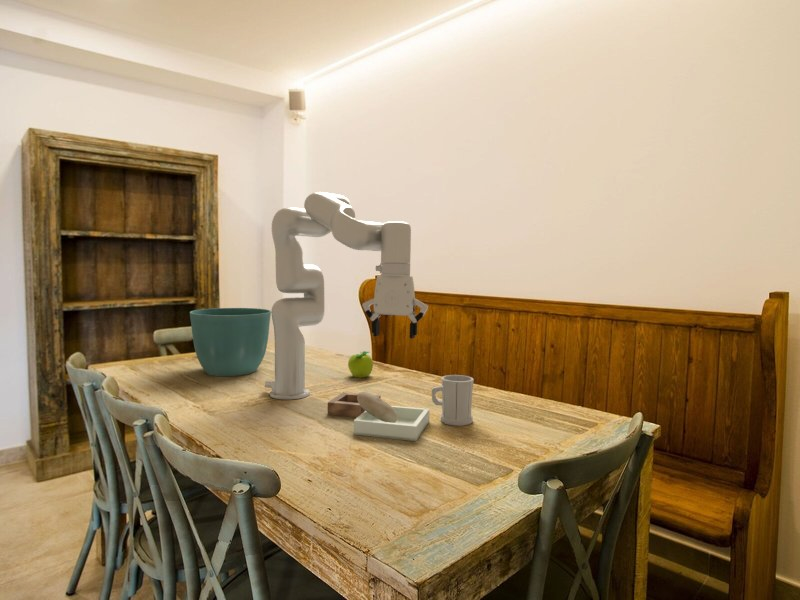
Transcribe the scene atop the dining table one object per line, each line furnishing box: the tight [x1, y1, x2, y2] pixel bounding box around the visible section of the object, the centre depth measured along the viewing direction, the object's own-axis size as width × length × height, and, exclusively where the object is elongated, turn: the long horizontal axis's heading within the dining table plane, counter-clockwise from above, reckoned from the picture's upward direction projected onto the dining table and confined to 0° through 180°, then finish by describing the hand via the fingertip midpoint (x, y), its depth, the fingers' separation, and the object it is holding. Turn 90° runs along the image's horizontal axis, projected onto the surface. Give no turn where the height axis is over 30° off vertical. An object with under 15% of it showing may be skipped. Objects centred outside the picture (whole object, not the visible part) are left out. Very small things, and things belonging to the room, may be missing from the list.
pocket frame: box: [327, 392, 382, 418], centre depth 146 cm, size 12×12×4 cm
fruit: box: [347, 350, 374, 379], centre depth 190 cm, size 9×9×10 cm
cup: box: [431, 374, 475, 427], centre depth 137 cm, size 10×9×12 cm
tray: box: [353, 405, 430, 442], centre depth 131 cm, size 16×16×4 cm
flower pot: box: [189, 307, 272, 377], centre depth 196 cm, size 30×30×24 cm
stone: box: [357, 391, 398, 423], centre depth 132 cm, size 6×6×12 cm
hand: (394, 336), depth 129 cm, fingers open, 9 cm apart
